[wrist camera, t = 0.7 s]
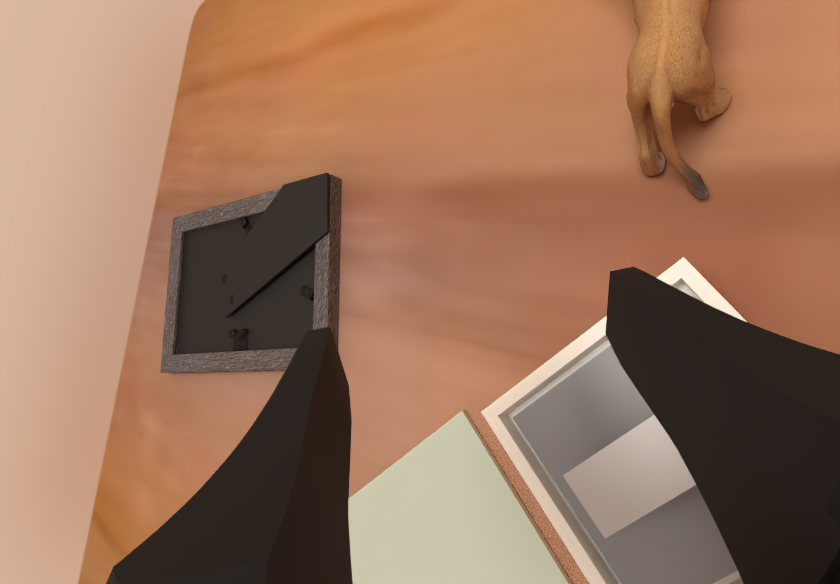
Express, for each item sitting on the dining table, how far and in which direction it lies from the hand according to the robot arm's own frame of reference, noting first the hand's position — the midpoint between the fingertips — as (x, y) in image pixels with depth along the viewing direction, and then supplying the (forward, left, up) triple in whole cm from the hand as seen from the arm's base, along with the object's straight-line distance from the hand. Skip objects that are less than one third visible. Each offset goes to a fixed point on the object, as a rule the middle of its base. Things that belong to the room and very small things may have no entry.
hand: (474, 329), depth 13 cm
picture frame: (+20, +18, -16) cm, 31 cm away
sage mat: (-4, +14, -15) cm, 21 cm away
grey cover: (-5, 0, -12) cm, 13 cm away
